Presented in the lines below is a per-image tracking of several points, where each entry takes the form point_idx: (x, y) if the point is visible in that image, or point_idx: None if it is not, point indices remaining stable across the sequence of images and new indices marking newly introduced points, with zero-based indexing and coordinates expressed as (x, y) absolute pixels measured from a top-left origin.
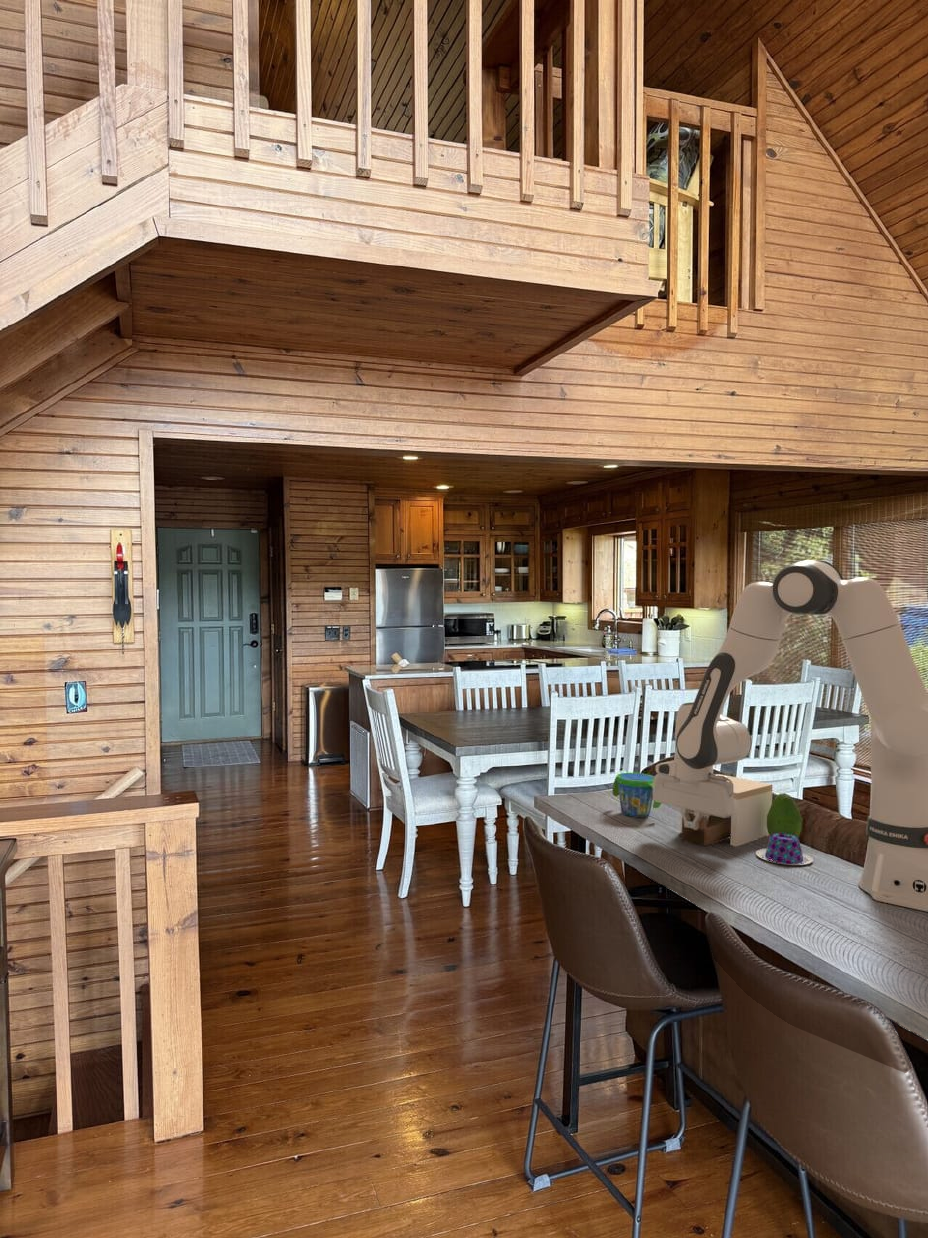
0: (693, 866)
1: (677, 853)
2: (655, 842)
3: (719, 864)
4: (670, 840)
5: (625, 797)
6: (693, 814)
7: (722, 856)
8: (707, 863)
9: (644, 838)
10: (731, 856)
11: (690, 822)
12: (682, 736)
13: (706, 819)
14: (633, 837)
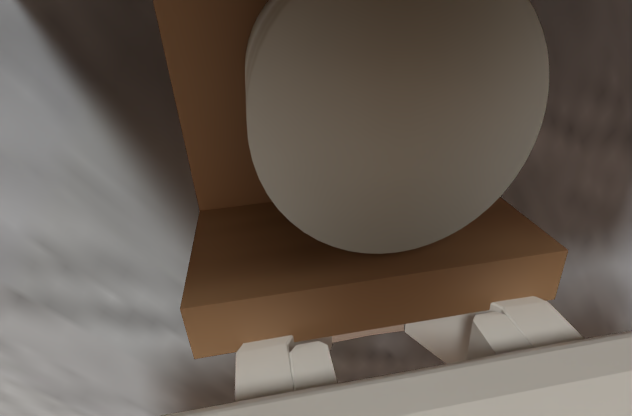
0: None
1: (382, 366)
2: (169, 345)
3: (602, 318)
4: (177, 243)
5: None
6: (383, 322)
7: (577, 216)
8: None
9: (61, 349)
10: (620, 172)
11: (377, 329)
12: None
13: (533, 231)
14: (13, 387)
